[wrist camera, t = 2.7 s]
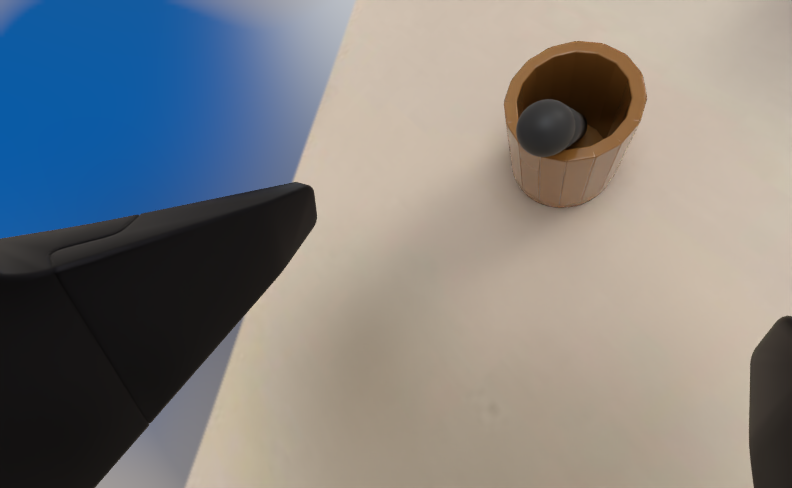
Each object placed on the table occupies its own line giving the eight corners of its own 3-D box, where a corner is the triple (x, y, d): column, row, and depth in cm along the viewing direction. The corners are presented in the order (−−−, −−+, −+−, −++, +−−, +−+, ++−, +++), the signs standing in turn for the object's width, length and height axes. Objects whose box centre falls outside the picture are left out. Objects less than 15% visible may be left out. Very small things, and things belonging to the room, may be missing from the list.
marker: (551, 245, 18) (567, 147, 9) (521, 237, 19) (507, 136, 9) (589, 123, 19) (643, -92, 9) (559, 118, 19) (582, -91, 10)
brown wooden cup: (600, 218, 18) (625, 173, 13) (500, 195, 20) (488, 146, 15) (628, 126, 19) (662, 47, 14) (528, 110, 20) (525, 35, 15)
